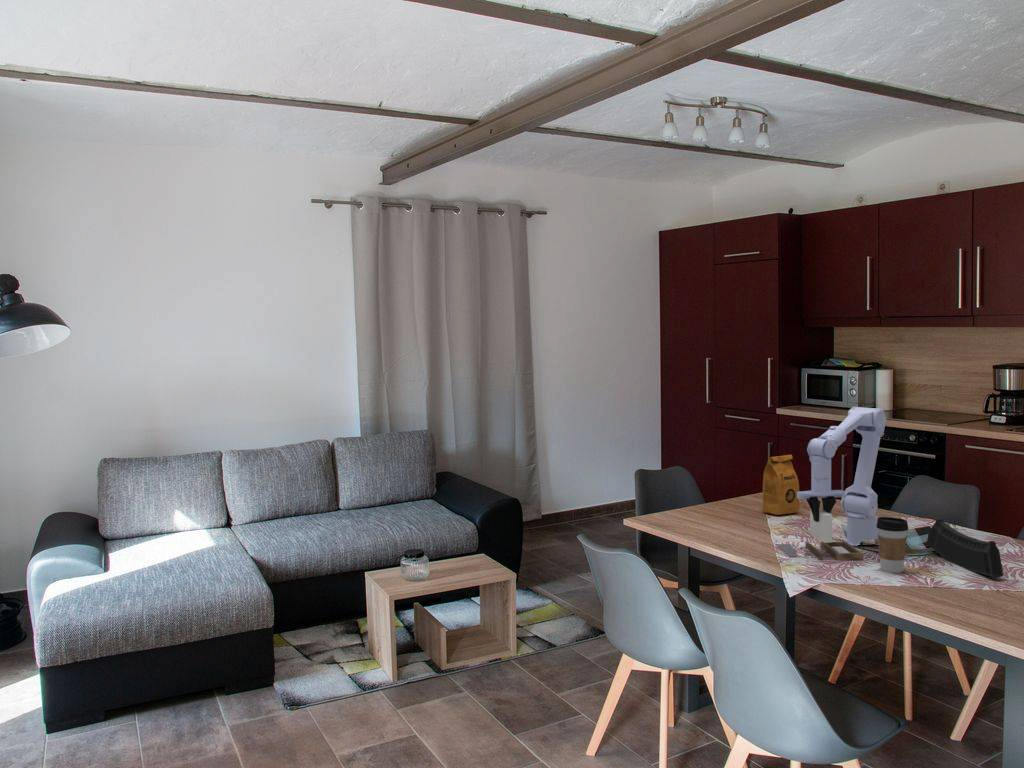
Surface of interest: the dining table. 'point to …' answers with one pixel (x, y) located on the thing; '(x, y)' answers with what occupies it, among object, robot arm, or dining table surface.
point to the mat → (790, 550)
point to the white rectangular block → (821, 526)
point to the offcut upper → (840, 550)
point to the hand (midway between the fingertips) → (821, 520)
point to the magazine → (965, 550)
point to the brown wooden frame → (828, 548)
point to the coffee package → (780, 486)
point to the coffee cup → (892, 543)
